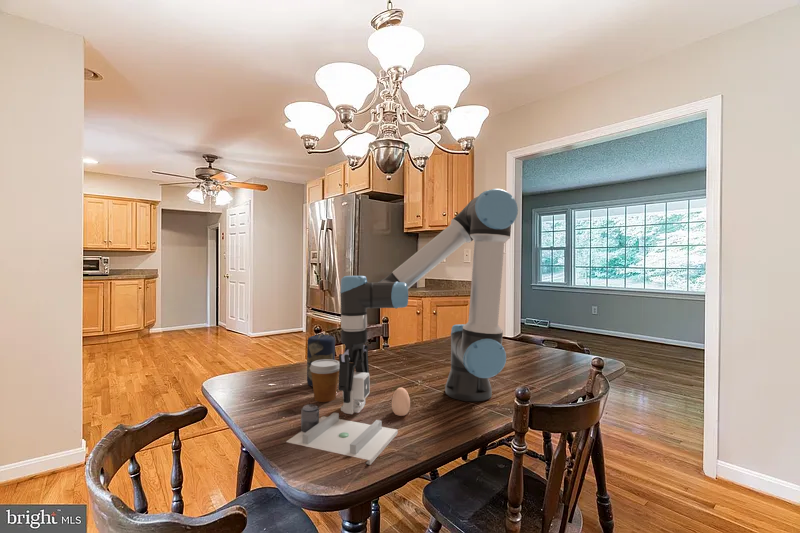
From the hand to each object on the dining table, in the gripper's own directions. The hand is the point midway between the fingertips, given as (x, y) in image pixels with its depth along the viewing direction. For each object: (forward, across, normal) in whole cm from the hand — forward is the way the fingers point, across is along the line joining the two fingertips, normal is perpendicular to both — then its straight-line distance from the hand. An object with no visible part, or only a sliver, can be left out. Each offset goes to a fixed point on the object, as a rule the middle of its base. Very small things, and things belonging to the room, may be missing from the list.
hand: (354, 408), depth 110 cm
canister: (+1, -17, -22) cm, 28 cm away
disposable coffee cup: (+1, -4, -12) cm, 13 cm away
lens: (0, +16, -4) cm, 17 cm away
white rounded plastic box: (+1, 0, 0) cm, 1 cm away
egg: (+2, -2, +14) cm, 14 cm away
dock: (+1, +16, +6) cm, 17 cm away
